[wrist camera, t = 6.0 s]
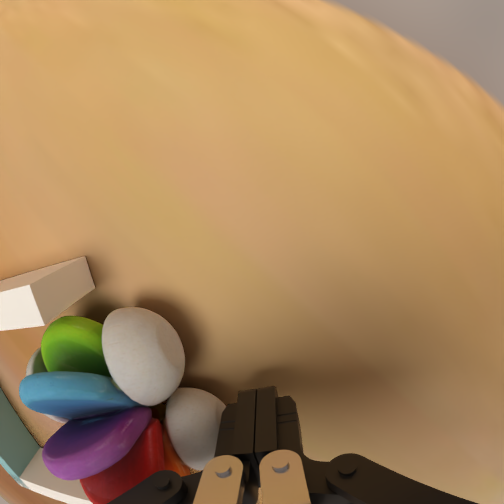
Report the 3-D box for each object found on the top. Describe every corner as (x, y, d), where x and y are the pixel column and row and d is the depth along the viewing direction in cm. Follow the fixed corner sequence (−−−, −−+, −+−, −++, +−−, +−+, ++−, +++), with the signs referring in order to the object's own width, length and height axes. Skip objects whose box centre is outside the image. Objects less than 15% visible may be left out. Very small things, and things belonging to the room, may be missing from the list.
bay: (84, 256, 12) (29, 284, 8) (189, 477, 15) (178, 524, 11) (-49, 296, 13) (-85, 315, 9) (39, 456, 16) (19, 485, 13)
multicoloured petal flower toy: (130, 451, 15) (94, 539, 8) (35, 325, 13) (-51, 394, 6) (253, 427, 14) (249, 548, 7) (153, 264, 12) (50, 356, 5)
